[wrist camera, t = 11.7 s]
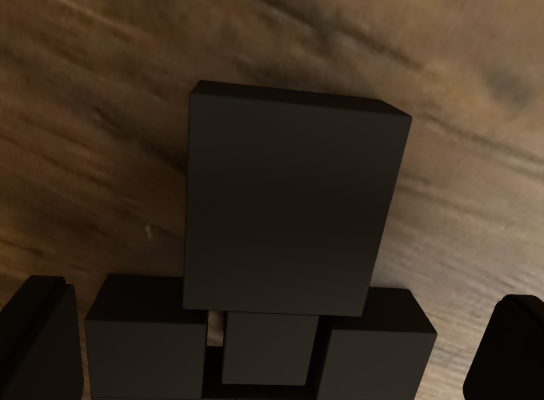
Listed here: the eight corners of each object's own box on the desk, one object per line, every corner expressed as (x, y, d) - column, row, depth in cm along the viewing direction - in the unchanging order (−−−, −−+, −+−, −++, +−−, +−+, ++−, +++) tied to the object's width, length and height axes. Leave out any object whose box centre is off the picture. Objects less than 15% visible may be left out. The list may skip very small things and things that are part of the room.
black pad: (188, 332, 19) (179, 383, 16) (198, 79, 14) (189, 92, 12) (329, 337, 20) (343, 387, 17) (382, 99, 15) (413, 116, 12)
